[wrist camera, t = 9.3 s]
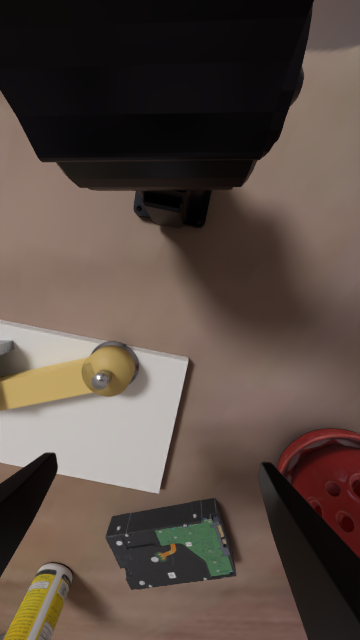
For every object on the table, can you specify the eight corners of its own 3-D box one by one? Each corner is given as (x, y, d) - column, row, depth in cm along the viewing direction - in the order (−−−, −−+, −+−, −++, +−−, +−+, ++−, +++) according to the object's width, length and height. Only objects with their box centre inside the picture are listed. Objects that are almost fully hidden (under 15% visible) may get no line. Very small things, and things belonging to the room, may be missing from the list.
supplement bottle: (33, 574, 28) (-46, 726, 19) (49, 555, 27) (-26, 705, 18) (63, 590, 29) (1, 745, 19) (80, 572, 28) (23, 726, 18)
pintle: (92, 336, 18) (71, 348, 15) (142, 346, 19) (132, 361, 15) (87, 381, 20) (67, 402, 16) (135, 391, 20) (124, 413, 16)
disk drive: (137, 560, 28) (233, 547, 26) (131, 591, 25) (238, 579, 23) (112, 510, 26) (214, 492, 24) (103, 538, 23) (217, 520, 21)
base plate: (-45, 310, 20) (-57, 312, 19) (188, 357, 20) (188, 361, 19) (-35, 446, 23) (-45, 453, 22) (159, 484, 23) (158, 493, 22)
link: (128, 340, 18) (121, 347, 16) (140, 381, 19) (135, 391, 17) (-16, 372, 19) (-37, 381, 18) (2, 409, 20) (-16, 421, 19)
